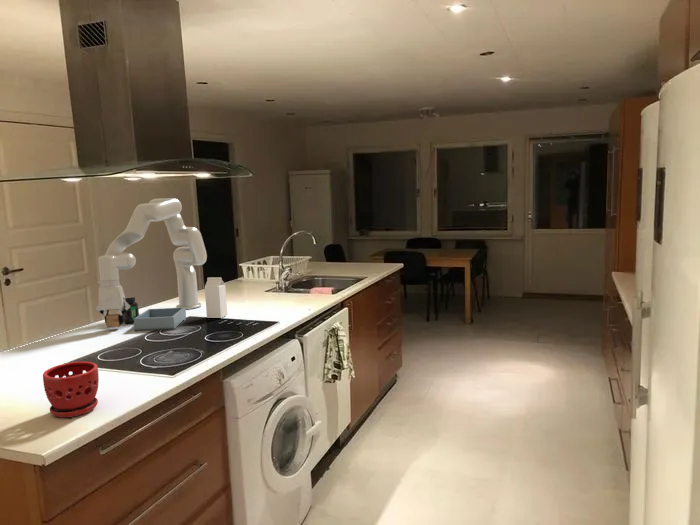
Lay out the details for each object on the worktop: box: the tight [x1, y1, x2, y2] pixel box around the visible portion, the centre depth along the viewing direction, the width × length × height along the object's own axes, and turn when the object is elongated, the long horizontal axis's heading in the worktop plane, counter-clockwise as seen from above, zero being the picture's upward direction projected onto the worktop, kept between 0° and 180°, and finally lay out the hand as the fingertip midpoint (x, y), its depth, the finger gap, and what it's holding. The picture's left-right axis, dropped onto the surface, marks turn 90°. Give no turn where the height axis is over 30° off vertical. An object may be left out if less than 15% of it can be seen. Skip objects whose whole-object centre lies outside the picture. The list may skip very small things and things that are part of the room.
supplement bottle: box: [123, 295, 140, 325], centre depth 249 cm, size 7×7×12 cm
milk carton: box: [204, 276, 228, 319], centre depth 252 cm, size 7×7×19 cm
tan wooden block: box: [106, 312, 123, 328], centre depth 237 cm, size 5×5×5 cm
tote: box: [133, 307, 187, 332], centre depth 242 cm, size 20×17×6 cm
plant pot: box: [42, 361, 100, 418], centre depth 144 cm, size 13×13×12 cm
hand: (115, 323), depth 237 cm, fingers closed on tan wooden block, 4 cm apart
